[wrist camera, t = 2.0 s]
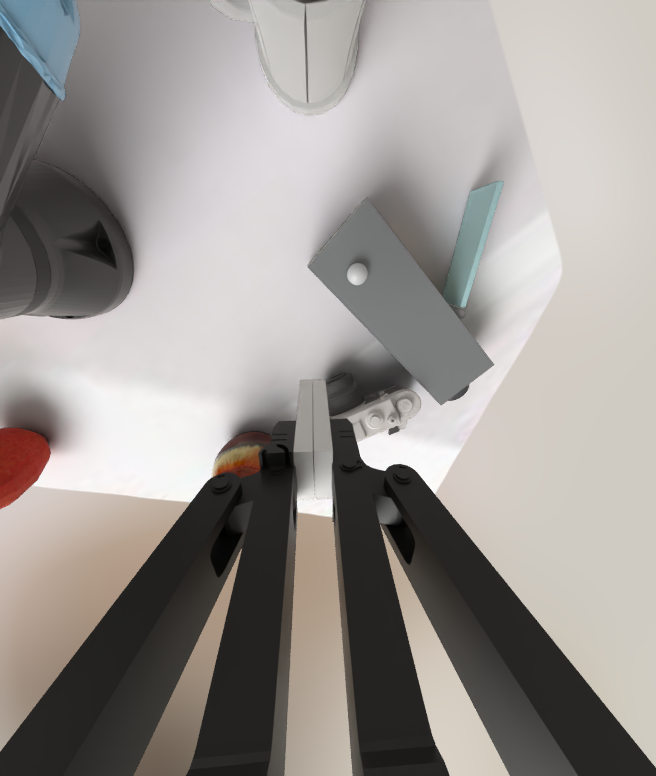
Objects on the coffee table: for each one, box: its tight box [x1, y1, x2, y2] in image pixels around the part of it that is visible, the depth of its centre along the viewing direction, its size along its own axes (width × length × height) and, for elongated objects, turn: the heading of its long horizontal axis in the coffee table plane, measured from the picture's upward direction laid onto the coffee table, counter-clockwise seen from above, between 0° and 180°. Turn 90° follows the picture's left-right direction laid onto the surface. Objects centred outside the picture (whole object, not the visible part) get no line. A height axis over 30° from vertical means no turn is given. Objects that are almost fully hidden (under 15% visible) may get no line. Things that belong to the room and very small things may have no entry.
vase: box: [212, 432, 272, 549], centre depth 37 cm, size 11×11×15 cm
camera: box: [325, 373, 421, 442], centre depth 36 cm, size 9×16×10 cm, turn 115°
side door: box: [443, 181, 504, 319], centre depth 29 cm, size 13×1×5 cm, turn 176°
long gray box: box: [308, 198, 494, 405], centre depth 32 cm, size 26×8×7 cm, turn 46°
